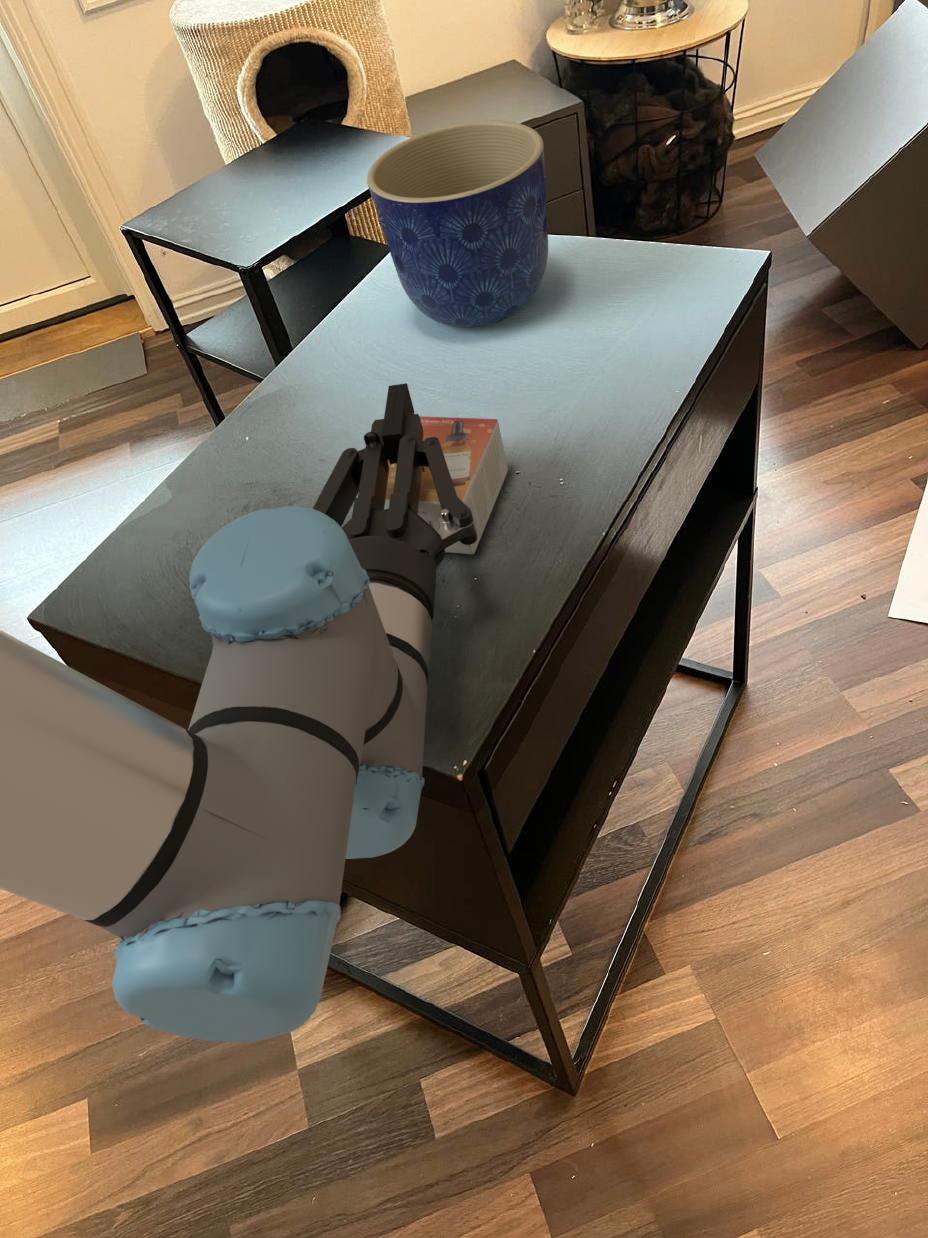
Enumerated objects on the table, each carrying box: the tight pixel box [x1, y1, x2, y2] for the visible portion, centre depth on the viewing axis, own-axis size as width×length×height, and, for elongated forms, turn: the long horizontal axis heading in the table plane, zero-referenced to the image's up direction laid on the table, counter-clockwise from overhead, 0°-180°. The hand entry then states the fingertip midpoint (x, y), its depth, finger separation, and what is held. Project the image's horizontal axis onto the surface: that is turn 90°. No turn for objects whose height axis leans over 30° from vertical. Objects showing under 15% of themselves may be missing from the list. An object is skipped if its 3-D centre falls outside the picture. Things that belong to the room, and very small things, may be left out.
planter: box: [366, 119, 549, 328], centre depth 93 cm, size 17×17×15 cm
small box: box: [384, 415, 509, 555], centre depth 75 cm, size 8×6×10 cm
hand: (401, 398), depth 74 cm, fingers closed
